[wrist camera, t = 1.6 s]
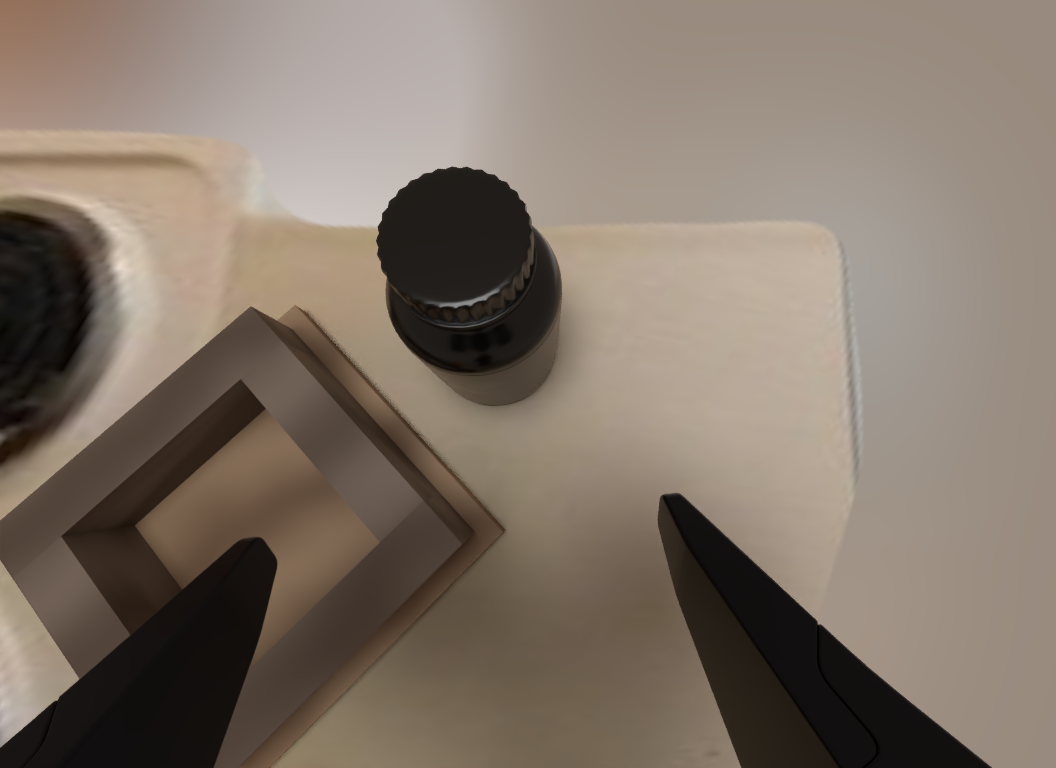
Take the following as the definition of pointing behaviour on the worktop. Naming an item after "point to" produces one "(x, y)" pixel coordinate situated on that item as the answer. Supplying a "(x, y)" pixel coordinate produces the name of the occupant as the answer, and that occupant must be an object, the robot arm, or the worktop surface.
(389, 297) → the supplement bottle
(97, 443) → the grey-brown square frame
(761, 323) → the worktop surface
